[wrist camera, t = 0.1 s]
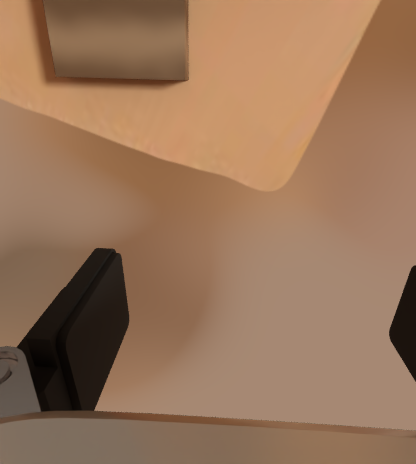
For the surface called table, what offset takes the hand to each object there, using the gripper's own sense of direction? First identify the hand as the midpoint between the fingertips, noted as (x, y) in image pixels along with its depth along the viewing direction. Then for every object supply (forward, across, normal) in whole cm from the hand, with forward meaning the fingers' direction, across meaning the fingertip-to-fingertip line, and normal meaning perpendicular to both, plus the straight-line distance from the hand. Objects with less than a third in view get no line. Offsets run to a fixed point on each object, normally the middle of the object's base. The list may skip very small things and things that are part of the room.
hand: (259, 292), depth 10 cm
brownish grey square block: (+31, +13, -13) cm, 36 cm away
